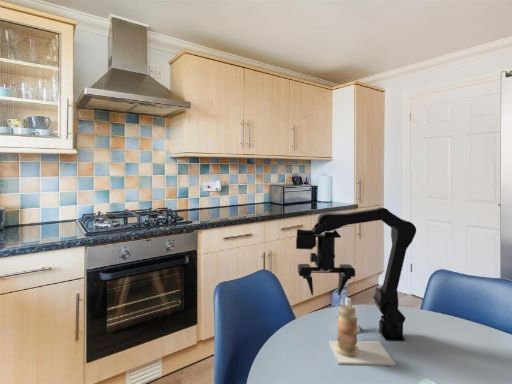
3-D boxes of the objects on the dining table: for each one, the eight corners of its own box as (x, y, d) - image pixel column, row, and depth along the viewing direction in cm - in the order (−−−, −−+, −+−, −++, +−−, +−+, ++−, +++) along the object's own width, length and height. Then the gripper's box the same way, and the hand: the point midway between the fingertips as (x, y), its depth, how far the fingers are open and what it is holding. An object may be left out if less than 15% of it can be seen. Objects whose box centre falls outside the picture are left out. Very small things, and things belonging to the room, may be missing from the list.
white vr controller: (350, 304, 119) (360, 299, 114) (354, 338, 113) (365, 335, 107) (332, 301, 118) (342, 296, 112) (335, 335, 111) (345, 332, 105)
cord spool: (348, 342, 99) (348, 302, 99) (363, 353, 93) (363, 311, 92) (330, 347, 97) (331, 306, 96) (345, 359, 90) (345, 315, 90)
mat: (379, 343, 100) (379, 341, 100) (394, 365, 88) (395, 363, 88) (329, 342, 101) (329, 340, 101) (338, 364, 89) (338, 362, 89)
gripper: (347, 245, 115) (346, 287, 115) (296, 244, 115) (295, 286, 116) (356, 252, 103) (355, 298, 104) (299, 251, 104) (299, 297, 104)
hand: (325, 294), depth 107 cm, fingers open, 9 cm apart
